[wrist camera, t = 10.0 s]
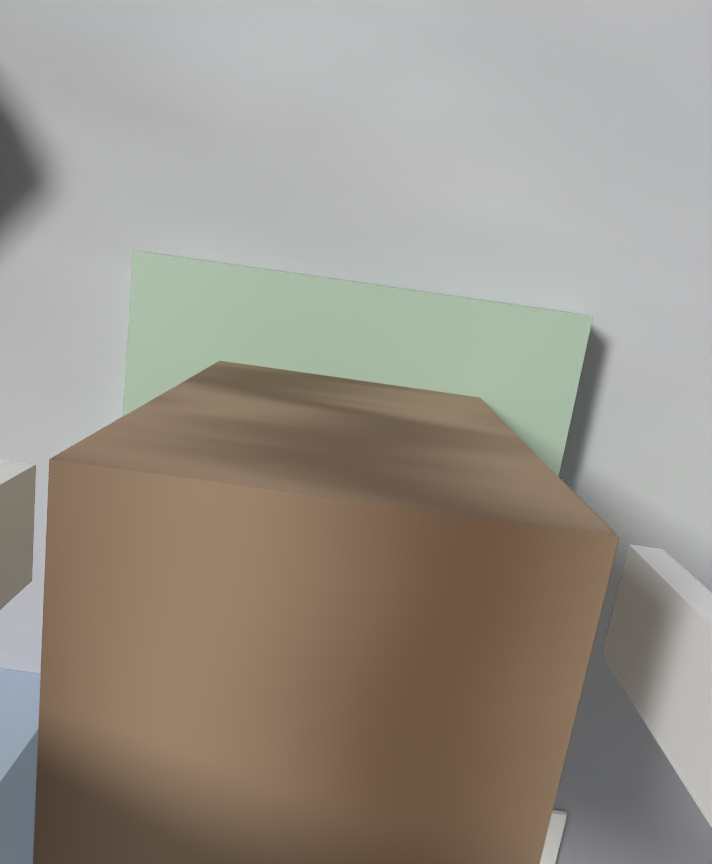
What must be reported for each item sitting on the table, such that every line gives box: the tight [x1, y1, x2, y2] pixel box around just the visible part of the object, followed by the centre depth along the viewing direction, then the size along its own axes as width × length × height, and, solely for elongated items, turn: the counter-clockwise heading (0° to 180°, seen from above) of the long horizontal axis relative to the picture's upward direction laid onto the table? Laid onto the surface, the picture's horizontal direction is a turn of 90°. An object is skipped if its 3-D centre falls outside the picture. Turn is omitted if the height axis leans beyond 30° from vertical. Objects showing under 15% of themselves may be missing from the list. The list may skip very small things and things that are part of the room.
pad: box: [123, 251, 593, 476], centre depth 19 cm, size 12×12×1 cm
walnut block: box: [33, 361, 619, 864], centre depth 14 cm, size 7×7×10 cm
